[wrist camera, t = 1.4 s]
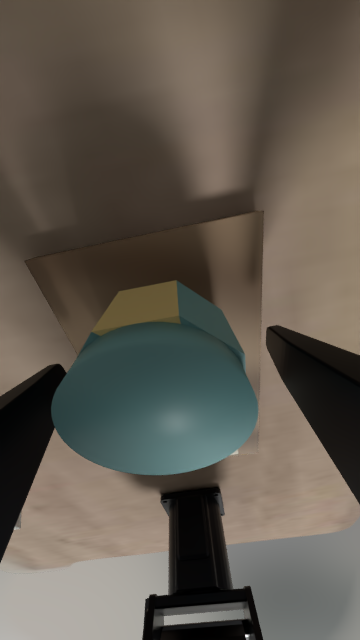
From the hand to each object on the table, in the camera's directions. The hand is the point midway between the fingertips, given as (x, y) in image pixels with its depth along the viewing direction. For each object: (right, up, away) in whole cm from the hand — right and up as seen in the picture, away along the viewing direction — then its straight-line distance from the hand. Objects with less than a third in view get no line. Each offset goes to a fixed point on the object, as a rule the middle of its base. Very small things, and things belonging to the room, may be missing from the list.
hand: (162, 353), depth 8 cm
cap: (0, 0, +1) cm, 1 cm away
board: (+1, -2, +5) cm, 5 cm away
